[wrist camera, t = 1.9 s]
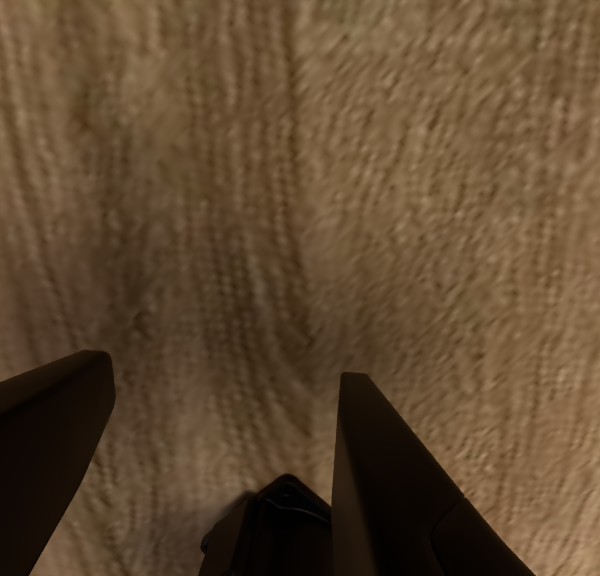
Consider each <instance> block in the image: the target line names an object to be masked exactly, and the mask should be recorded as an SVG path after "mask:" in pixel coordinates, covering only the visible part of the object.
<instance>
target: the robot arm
mask: <svg viewBox="0 0 600 576" xmlns="http://www.w3.org/2000/svg"><path fill="white" fill-rule="evenodd" d="M115 398H116V393H115V384H114V375H113V366H112V359H111V357H110V355H109V354H108V353H107V352H105V351H96V350H82V351H80V352H77V353H74V354H72V355H69V356H67V357H64V358H61V359H59V360H56V361H54V362H51V363H48V364H46V365H43V366H41V367H38V368H35V369H33V370H30V371H28V372H25V373H22V374H20V375H17V376H15V377H12V378H9V379H7V380H4V381H2V382H0V576H29V574H30V572H31V571H32V569H33V567H34V565H35V564H36V562H37V560H38V558H39V557H40V555H41V553H42V551H43V550H44V548H45V546H46V544H47V543H48V541H49V539H50V537H51V536H52V534H53V532H54V530H55V529H56V527H57V525H58V523H59V522H60V520H61V518H62V516H63V515H64V513H65V511H66V509H67V508H68V506H69V504H70V502H71V501H72V499H73V497H74V495H75V493H76V491H77V490H78V488H79V486H80V484H81V482H82V480H83V478H84V475H85V473H86V471H87V469H88V466H89V464H90V462H91V459H92V457H93V455H94V452H95V450H96V448H97V445H98V443H99V441H100V438H101V436H102V434H103V431H104V429H105V427H106V424H107V422H108V420H109V418H110V415H111V413H112V411H113V408H114V404H115ZM285 486H289V487H291V489H287V488H285ZM200 548H201V551H202V552H203V553H204V554H205V556H204V559H203V562H202V565H201V568H200V571H199V575H198V576H536V575H535V574H534V573H533V572H532V571H531V570H530V569H529V568H528V567H527V566H526V565H525V564H524V563H523V562H522V561H521V560H520V559H519V558H518V557H517V556H516V554H515V553H514V552H513V551H512V550H511V549H510V548H509V547H508V546H507V545H506V544H505V543H504V542H503V541H502V539H501V538H500V537H499V536H498V535H497V534H496V532H495V531H494V530H493V529H492V528H491V527H490V525H489V524H488V523H487V522H486V521H485V520H484V518H483V517H482V516H481V515H480V514H479V512H478V511H477V510H476V509H475V507H474V506H473V505H472V504H471V502H470V501H469V500H468V499H467V498H464V494H463V493H462V492H461V490H460V489H459V488H458V487H457V485H456V484H455V483H454V482H453V480H452V479H451V478H450V477H449V475H448V474H447V473H446V472H445V470H444V469H443V468H442V467H441V466H440V464H439V463H438V462H437V461H436V459H435V458H434V457H433V456H432V454H431V453H430V452H429V451H428V449H427V448H426V447H425V446H424V444H423V443H422V442H421V441H420V439H419V438H418V437H417V436H416V434H415V433H414V432H413V431H412V430H411V428H410V427H409V426H408V425H407V423H406V422H405V421H404V420H403V418H402V417H401V416H400V415H399V413H398V412H397V411H396V410H395V408H394V407H393V406H392V405H391V403H390V402H389V401H388V400H387V398H386V397H385V396H384V395H383V394H382V392H381V391H380V390H379V389H378V387H377V386H376V385H375V384H374V382H373V381H372V380H371V379H370V377H369V376H368V375H367V374H365V373H355V372H343V373H342V374H341V377H340V389H339V401H338V415H337V429H336V443H335V457H334V472H333V486H332V503H331V508H330V507H329V506H328V505H326V504H325V503H324V502H323V501H322V500H321V499H319V498H318V497H317V496H316V495H315V494H313V493H312V492H311V491H310V490H309V489H308V488H306V487H305V486H304V485H303V484H302V483H300V482H299V481H298V480H297V479H295V478H294V477H291V476H284V477H282V478H280V479H279V480H277V481H276V482H275V483H274V484H272V485H271V486H270V487H268V488H267V489H266V490H264V491H263V492H262V493H260V494H259V495H258V496H257V497H255V498H251V499H247V500H246V501H244V502H243V503H242V504H241V505H239V506H238V507H237V508H235V509H234V510H233V511H231V512H230V513H229V514H228V515H226V516H225V517H224V518H222V519H221V520H220V521H218V522H217V523H216V524H215V525H214V528H213V530H212V531H211V532H209V533H208V534H207V535H206V536H204V538H203V540H202V543H201V547H200Z"/></svg>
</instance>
